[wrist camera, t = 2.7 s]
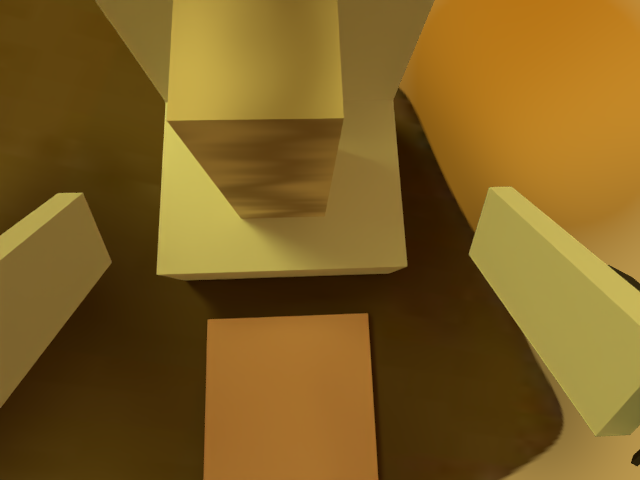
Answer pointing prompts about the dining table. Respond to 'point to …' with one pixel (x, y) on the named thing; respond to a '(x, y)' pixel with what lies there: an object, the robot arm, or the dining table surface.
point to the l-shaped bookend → (348, 176)
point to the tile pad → (289, 399)
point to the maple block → (259, 99)
